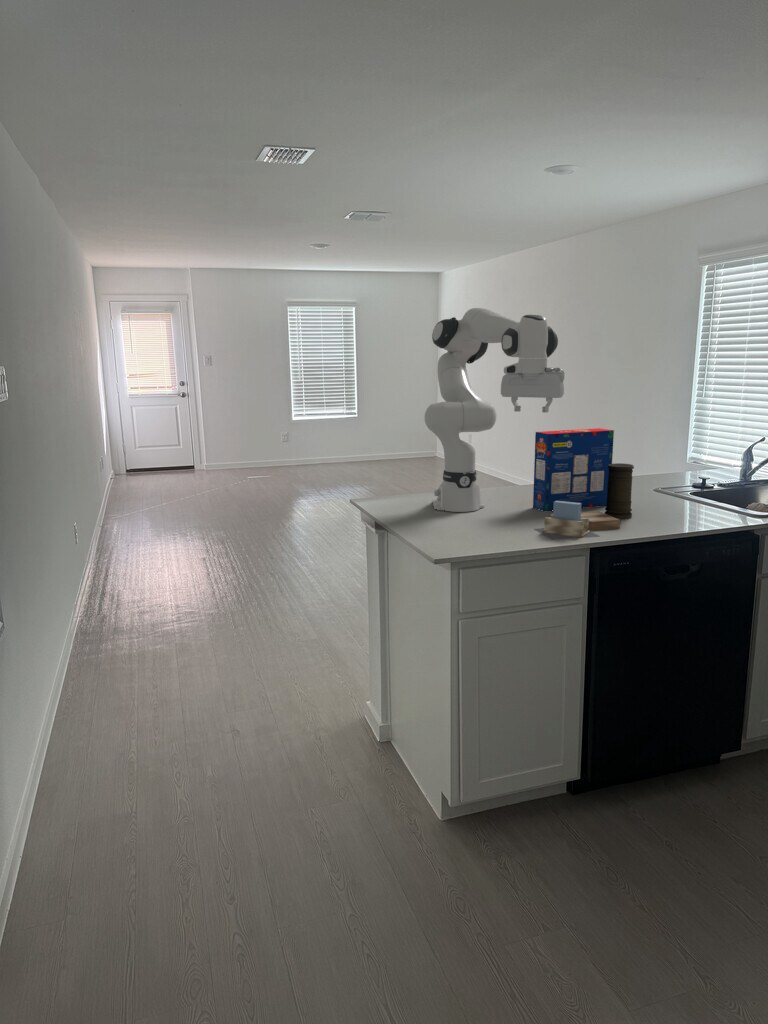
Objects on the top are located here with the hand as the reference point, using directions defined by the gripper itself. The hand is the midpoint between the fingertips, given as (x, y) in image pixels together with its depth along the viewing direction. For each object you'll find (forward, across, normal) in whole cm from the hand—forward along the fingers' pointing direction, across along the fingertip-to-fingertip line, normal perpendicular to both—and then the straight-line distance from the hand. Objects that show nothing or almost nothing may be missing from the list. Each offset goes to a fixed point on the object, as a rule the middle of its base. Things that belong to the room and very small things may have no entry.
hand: (531, 411), depth 226 cm
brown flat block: (+37, -19, -11) cm, 43 cm away
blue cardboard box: (+37, -3, -35) cm, 51 cm away
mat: (+37, -15, +5) cm, 40 cm away
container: (+37, -22, -28) cm, 51 cm away
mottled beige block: (+37, -15, +5) cm, 40 cm away
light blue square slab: (+36, -15, +5) cm, 39 cm away
